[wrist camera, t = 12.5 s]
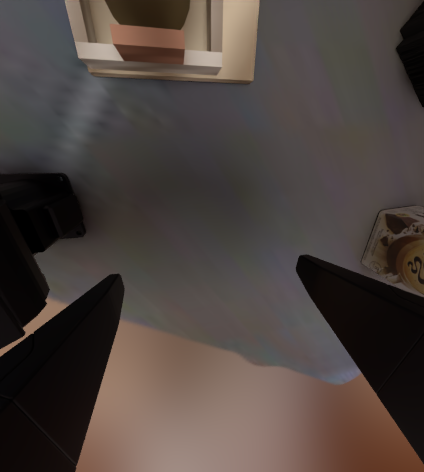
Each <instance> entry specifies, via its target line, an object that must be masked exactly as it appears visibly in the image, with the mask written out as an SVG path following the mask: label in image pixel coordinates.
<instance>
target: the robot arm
mask: <svg viewBox="0 0 424 472" xmlns="http://www.w3.org/2000/svg"><path fill="white" fill-rule="evenodd" d="M59 176H60V177H62V179H63V181H61V180H60V179H59ZM78 231H80V232H81V233H82V234H80V233H79V232H78ZM85 234H86V230H85V227H84V224H83V216H82V213H81V210H80V207H79V204H78V201H77V198H76V196H75V195H73V192H72V189H71V186H70V183H69V180H68V178H67V176H66V175H65V174H63V173H35V174H0V349H1V348H3V347H5V346H7V345H8V344H10V343H12V342H14V341H16V340H18V339H19V338H21V337H23V336H24V335H25V331H24V330H23V327H25V326H26V325H27V324H28V323H29V322H30V321H31V320H33V319H34V318H35V317H36V316H37V315H38V314H39V313H40V312H41V310H42V309H43V308H44V307H45V306H46V304H47V303H46V301H45V300H46V298H47V295H48V293H49V290H50V289H49V286H48V284H47V282H46V278H45V276H44V274H42V272H41V270H40V268H39V266H38V264H37V262H36V260H35V258H34V255H35V254H37V253H38V252H44V251H45V250H46V249H48V248H49V247H50V246H51V245H52V244H54V243H55V242H56V241H57V240H58V239H64V238H78V237H83V236H84V235H85ZM296 272H297V274H298V276H299V278H300V280H301V281H302V283H303V285H304V287H305V289H306V290H307V292H308V294H309V296H310V297H311V299H312V300H313V302H314V303H315V305H316V306H317V308H318V309H319V311H320V312H321V314H322V315H323V317H324V318H325V320H326V321H327V323H328V324H329V325H330V327H331V328H332V330H333V331H334V333H335V334H336V336H337V337H338V339H339V340H340V342H341V343H342V345H343V346H344V347H345V349H346V350H347V352H348V353H349V355H350V356H351V358H352V359H353V361H354V362H355V364H356V365H357V367H358V368H359V369H360V371H361V372H362V374H363V375H364V377H365V378H366V380H367V381H368V382H369V384H370V386H371V387H372V389H373V390H374V391H375V393H376V394H377V396H378V397H379V399H380V400H381V402H382V403H383V405H384V406H385V408H386V409H387V411H388V412H389V414H390V415H391V417H392V418H393V419H394V421H395V422H396V424H397V425H398V427H399V428H400V430H401V431H402V433H403V434H404V436H405V437H406V438H407V440H408V442H409V443H410V444H411V446H412V447H413V449H414V450H415V452H416V453H417V455H418V456H419V458H420V459H421V461H422V462H423V464H424V297H422V296H419V295H416V294H413V293H410V292H407V291H405V290H402V289H399V288H396V287H394V286H391V285H387V284H385V283H383V282H380V281H377V280H375V279H372V278H369V277H367V276H364V275H361V274H359V273H356V272H353V271H350V270H348V269H345V268H342V267H340V266H337V265H334V264H332V263H329V262H326V261H324V260H321V259H318V258H315V257H313V256H310V255H300V256H299V258H298V262H297V266H296ZM123 297H124V285H123V281H122V278H121V275H120V274H111V275H109V276H107V277H106V278H105V279H103V280H102V281H101V282H99V283H98V284H97V285H95V286H94V287H93V288H91V289H90V290H89V291H87V292H86V293H85V294H84V295H82V296H81V297H80V298H78V299H77V300H76V301H74V302H73V303H72V304H70V305H69V306H68V307H66V308H65V309H64V310H62V311H61V312H60V313H59V314H57V315H56V316H54V317H53V318H52V319H50V320H49V321H48V322H46V323H45V324H44V325H42V326H41V327H40V328H39V329H37V330H36V331H35V332H34V334H30V335H29V336H28V337H26V338H25V339H24V340H23V341H21V342H20V343H18V344H17V345H16V346H14V347H13V348H12V349H10V350H9V351H8V352H6V353H5V354H3V355H2V356H1V357H0V472H75V471H76V465H77V463H78V460H79V456H80V453H81V450H82V446H83V443H84V440H85V436H86V433H87V430H88V426H89V423H90V419H91V416H92V413H93V409H94V406H95V402H96V399H97V395H98V392H99V389H100V386H101V382H102V379H103V376H104V372H105V369H106V365H107V362H108V359H109V355H110V352H111V349H112V345H113V342H114V338H115V335H116V332H117V328H118V325H119V320H120V315H121V309H122V303H123Z"/></svg>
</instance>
